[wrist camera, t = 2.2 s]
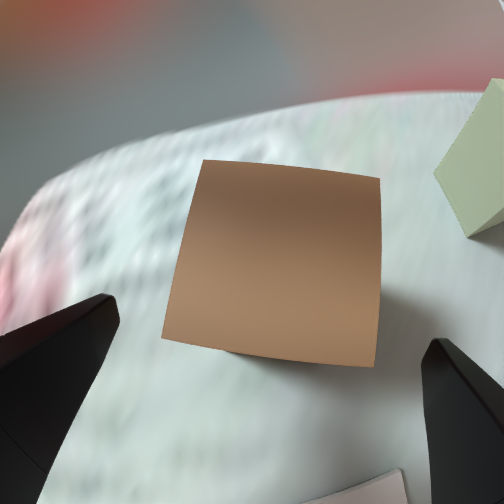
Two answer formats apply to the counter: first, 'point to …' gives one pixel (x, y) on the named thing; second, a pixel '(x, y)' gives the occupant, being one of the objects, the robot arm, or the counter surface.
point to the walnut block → (280, 264)
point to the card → (370, 492)
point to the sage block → (477, 165)
